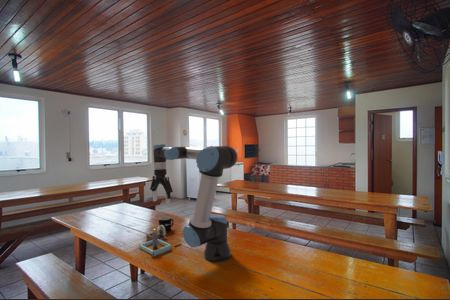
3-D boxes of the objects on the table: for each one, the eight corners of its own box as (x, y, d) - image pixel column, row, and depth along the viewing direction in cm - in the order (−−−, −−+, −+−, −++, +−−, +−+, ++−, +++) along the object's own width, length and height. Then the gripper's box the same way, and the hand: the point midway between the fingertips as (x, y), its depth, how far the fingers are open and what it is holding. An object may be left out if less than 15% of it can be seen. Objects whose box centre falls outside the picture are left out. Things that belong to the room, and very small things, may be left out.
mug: (164, 234, 178) (163, 220, 178) (156, 232, 184) (156, 218, 184) (177, 230, 187) (177, 216, 187) (169, 227, 193) (169, 214, 193)
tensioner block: (166, 238, 170) (166, 225, 170) (151, 244, 161) (150, 230, 161) (160, 236, 176) (159, 223, 175) (144, 241, 167) (144, 228, 167)
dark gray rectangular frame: (181, 244, 160) (181, 243, 160) (176, 247, 156) (176, 246, 156) (166, 240, 168) (166, 239, 168) (160, 242, 164) (160, 242, 164)
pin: (158, 248, 154) (158, 229, 153) (154, 250, 151) (153, 230, 151) (156, 247, 156) (155, 228, 155) (151, 248, 153) (151, 229, 153)
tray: (171, 249, 153) (171, 244, 153) (153, 256, 144) (153, 251, 144) (157, 243, 163) (157, 238, 163) (139, 249, 154) (139, 244, 154)
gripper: (177, 169, 152) (178, 203, 152) (153, 167, 168) (155, 199, 169) (167, 170, 146) (168, 206, 147) (143, 168, 162) (145, 201, 163)
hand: (161, 202), depth 158 cm, fingers open, 13 cm apart
